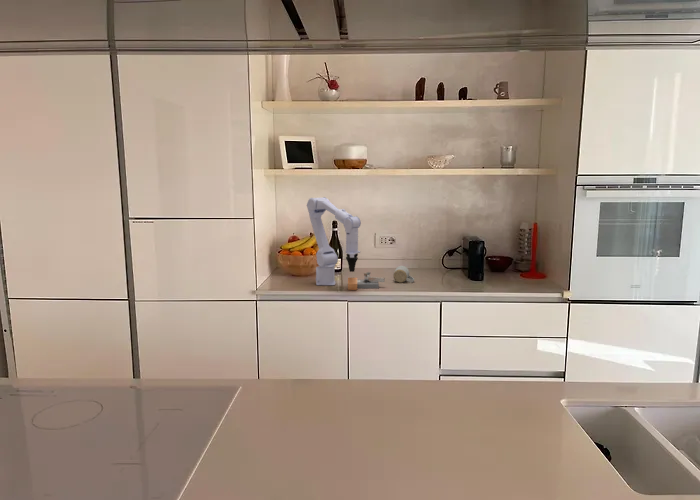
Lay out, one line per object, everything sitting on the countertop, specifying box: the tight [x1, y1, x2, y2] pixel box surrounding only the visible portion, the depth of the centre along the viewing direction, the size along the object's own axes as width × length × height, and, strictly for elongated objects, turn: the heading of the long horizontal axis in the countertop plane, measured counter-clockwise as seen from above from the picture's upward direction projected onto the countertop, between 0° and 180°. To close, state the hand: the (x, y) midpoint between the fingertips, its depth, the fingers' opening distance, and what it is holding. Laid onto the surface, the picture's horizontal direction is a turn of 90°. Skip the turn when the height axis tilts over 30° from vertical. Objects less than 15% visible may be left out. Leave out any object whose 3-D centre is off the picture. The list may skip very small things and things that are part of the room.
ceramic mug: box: [392, 265, 415, 284], centre depth 265 cm, size 11×8×8 cm
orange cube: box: [347, 277, 358, 291], centre depth 247 cm, size 4×4×4 cm
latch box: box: [357, 279, 380, 289], centre depth 255 cm, size 14×11×2 cm
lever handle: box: [363, 271, 386, 283], centre depth 254 cm, size 5×10×4 cm, turn 65°
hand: (351, 270), depth 247 cm, fingers open, 7 cm apart
